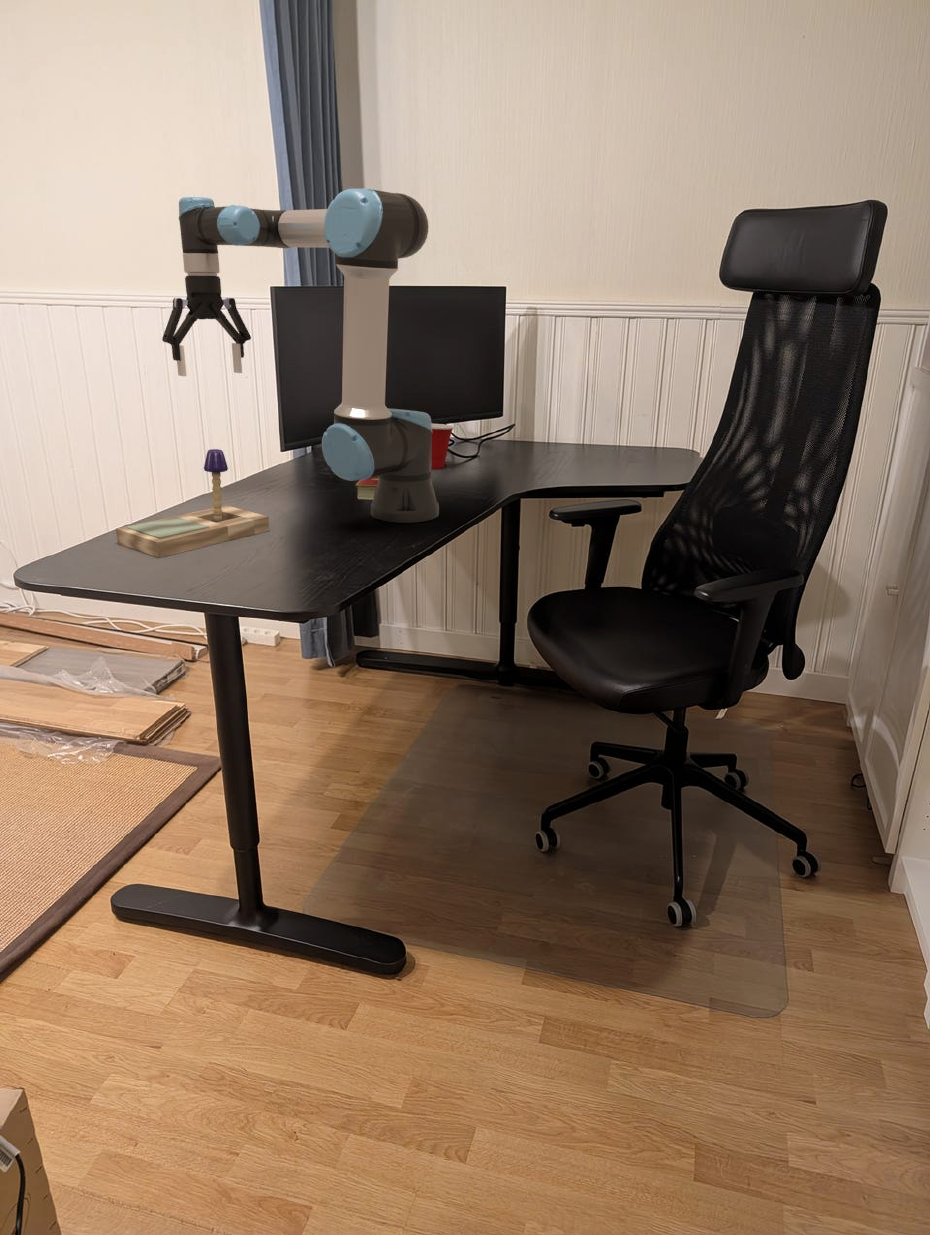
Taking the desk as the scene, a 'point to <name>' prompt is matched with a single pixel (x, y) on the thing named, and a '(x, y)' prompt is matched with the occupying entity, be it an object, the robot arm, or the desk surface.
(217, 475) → the toy lamp
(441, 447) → the plastic cup
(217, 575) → the desk surface
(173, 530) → the light wooden flat block
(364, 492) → the hardcover book
